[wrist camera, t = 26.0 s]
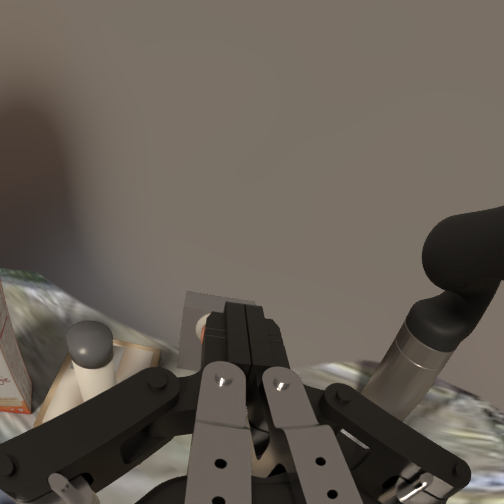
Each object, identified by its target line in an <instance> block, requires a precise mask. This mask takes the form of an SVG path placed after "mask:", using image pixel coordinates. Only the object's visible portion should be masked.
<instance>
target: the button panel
mask: <svg viewBox="0 0 504 504" xmlns="http://www.w3.org/2000/svg"><path fill="white" fill-rule="evenodd" d="M226 301H228V302H235V303H242V304H249V305H255V302H254V301H247V300H240V299H234V298H227V297H221V296H214V295H208V294H202V293H196V292H190V291H187V294H186V298H185V303H184V309H183V317H182V326H181V335H180V344H179V354H178V364H177V368H182V369H188V370H195V371H200V366H201V351H202V344H201V330H202V327H203V326H204V325H205V324H206V319H207V317H208V316H209V315H210V313H211V312H212V311H214V312H221V313H223V311H224V306H225V303H226Z"/></svg>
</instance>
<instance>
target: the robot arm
mask: <svg viewBox="0 0 504 504" xmlns="http://www.w3.org/2000/svg"><path fill="white" fill-rule="evenodd" d="M422 264H423V268H424V271H425V273H426V275H427V277H428V278H429V279H430V281H431V282H433V283H434V284H435V285H436V286H438V287H440V288H441V289H443V290H445V291H444V292H443V293H442V294H440V295H438V296H435V297H432V298H429V299H424V300H420V301H418V302H416V303H415V304H414V305H413V306H412V308H411V309H410V312H409V313H408V315H407V317H406V319H405V321H404V323H403V325H402V327H401V328H400V330H399V332H398V334H397V336H396V338H395V340H394V341H393V343H392V345H391V346H390V348H389V350H388V351H387V353H386V355H385V356H384V358H383V360H382V361H381V363H380V364H379V366H378V368H377V369H376V371H375V372H374V374H373V375H372V377H371V378H370V380H369V381H368V383H367V384H366V386H365V387H364V389H363V390H362V392H361V393H359V392H357V391H356V390H355V389H353V388H352V387H350V386H348V385H345V384H342V383H334V384H331V385H329V386H328V387H327V388H326V390H325V391H324V390H320V389H316V388H312V387H309V386H306V385H304V384H303V383H302V381H301V379H300V377H299V376H298V375H297V374H296V373H295V372H294V371H292V370H290V366H289V362H288V359H287V355H286V351H285V347H284V345H283V340H282V338H281V332H280V328H279V327H278V326H277V324H276V323H275V322H274V321H273V320H272V319H265V317H264V313H263V308H262V306H256V305H249V304H242V303H235V302H228V301H226V303H225V306H224V311H223V313H221V312H214V311H212V312H211V313H210V315H209V316H208V317H207V319H206V325H205V330H204V336H203V342H202V351H201V366H200V371H199V372H197V373H196V374H194V375H191V376H186V377H178V378H177V377H176V376H175V375H174V374H173V373H172V372H171V371H169V370H167V369H164V368H160V367H149V368H145V369H143V370H141V371H139V372H138V373H136V374H134V375H132V376H131V377H129V378H127V379H125V380H124V381H122V382H120V383H118V384H116V385H115V386H113V387H111V388H109V389H108V390H106V391H104V392H102V393H100V394H98V395H97V396H95V397H93V398H91V399H89V400H87V401H86V402H84V403H82V404H80V405H78V406H76V407H74V408H72V409H70V410H69V411H67V412H65V413H63V414H61V415H59V416H57V417H55V418H53V419H51V420H49V421H47V422H45V423H43V424H41V425H39V426H37V427H35V428H33V429H31V430H29V431H27V432H25V433H23V434H21V435H19V436H16V437H14V438H12V439H10V440H8V441H6V442H4V443H1V444H0V489H1V490H2V491H4V492H5V493H6V494H7V495H8V496H9V497H10V498H12V499H13V500H14V501H15V502H16V503H17V504H100V500H99V498H98V496H97V494H96V493H97V492H99V491H100V490H102V489H103V488H105V487H106V486H108V485H109V484H111V483H112V482H114V481H115V480H117V479H118V478H120V477H121V476H123V475H124V474H126V473H127V472H129V471H130V470H131V469H133V468H134V467H136V466H137V465H138V464H140V463H141V462H143V461H144V460H145V459H147V458H148V457H149V456H151V455H152V454H153V453H155V452H156V451H157V450H159V449H160V448H161V447H163V446H164V445H165V444H167V443H168V442H169V441H171V440H172V439H173V438H174V436H179V435H186V434H192V433H193V434H192V441H191V448H190V455H189V462H188V469H187V475H186V476H181V477H176V478H173V479H170V480H167V481H165V482H163V483H161V484H159V485H158V486H156V487H155V488H153V489H152V490H151V491H149V492H148V493H147V494H146V495H145V496H143V497H142V498H141V499H140V500H139V501H137V502H136V503H135V504H446V502H447V500H448V498H449V497H451V496H452V495H454V494H455V493H457V492H458V491H460V490H461V489H463V488H464V487H466V486H467V485H468V484H469V482H470V480H471V470H470V468H469V466H468V464H467V463H466V462H465V461H464V460H462V459H460V458H459V457H457V456H455V455H454V454H452V453H450V452H449V451H447V450H446V449H444V448H442V447H441V446H439V445H437V444H436V443H434V442H433V441H431V440H429V439H428V438H426V437H425V436H423V435H421V434H420V433H418V432H417V431H415V430H414V429H412V428H411V427H409V426H408V425H406V424H404V423H403V422H401V421H403V420H404V419H405V418H406V417H407V416H408V415H409V414H410V413H411V411H412V410H413V409H414V408H415V407H416V405H417V404H418V403H419V402H420V401H421V399H422V398H423V397H424V396H425V394H426V393H427V392H428V391H429V389H430V388H431V387H432V385H433V381H434V380H435V379H436V377H437V376H438V374H439V373H440V372H441V370H442V369H443V368H444V366H445V364H446V363H447V362H448V360H449V358H450V357H451V356H452V354H453V352H454V351H455V350H456V348H457V347H458V345H459V344H460V342H461V341H462V340H464V339H465V338H466V337H467V336H469V334H470V333H472V331H473V330H474V329H475V327H476V326H477V324H478V322H479V321H480V319H481V318H482V316H483V314H484V312H485V311H486V309H487V307H488V306H489V304H490V302H491V300H492V299H493V297H494V295H495V293H496V291H497V289H498V287H499V285H500V282H501V280H504V206H501V207H497V208H493V209H488V210H483V211H477V212H471V213H465V214H459V215H454V216H450V217H448V218H446V219H444V220H442V221H441V222H439V223H438V224H437V225H436V226H435V227H434V228H433V230H432V231H431V232H430V233H429V235H428V237H427V239H426V241H425V243H424V246H423V251H422ZM246 406H247V411H248V414H247V416H246ZM342 429H344V430H345V431H347V432H348V433H350V434H351V435H352V436H354V437H355V438H357V439H358V440H359V441H361V442H362V443H364V444H365V445H366V446H368V447H369V448H370V449H365V448H363V447H361V446H360V445H358V444H357V443H355V442H354V441H353V440H351V439H350V438H348V437H347V436H346V435H344V434H343V433H342V432H340V431H341V430H342ZM251 458H252V465H253V467H252V475H251Z"/></svg>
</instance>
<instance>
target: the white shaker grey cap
mask: <svg viewBox="0 0 504 504" xmlns="http://www.w3.org/2000/svg"><path fill="white" fill-rule="evenodd" d="M66 341H67V345H68V350H69V354H70V357H71V359H72V363H73V366H74V370H75V374H76V378H77V381H78V385H79V388H80V392H81V395H82V398H83V401H84V402H86V401H87V400H89V399H91V398H93V397H95V396H97V395H98V394H100V393H102V392H104V391H106V390H108V389H109V388H111V387H113V386H115V385H116V384H117V380H116V373H115V365H114V347H113V335H112V332H111V330H110V329H109V328H108V327H107V326H106V325H104V324H102V323H100V322H96V321H82V322H78V323H76V324H74V325H73V326H71V327H70V328H69V330H68V331H67V334H66Z"/></svg>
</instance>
